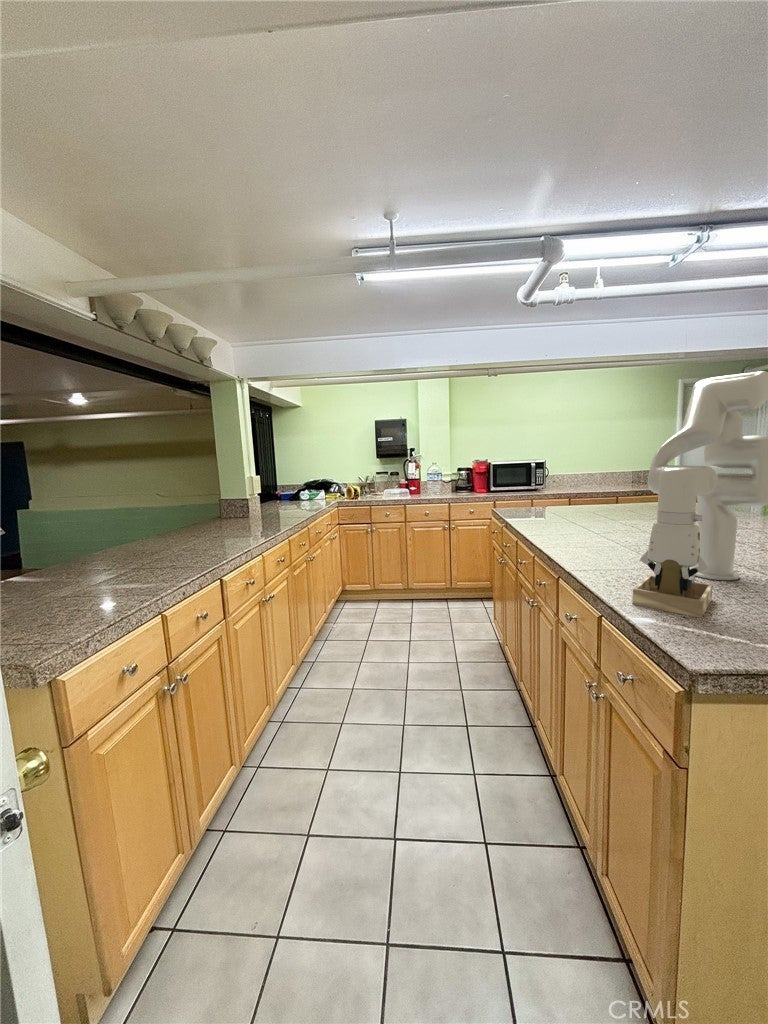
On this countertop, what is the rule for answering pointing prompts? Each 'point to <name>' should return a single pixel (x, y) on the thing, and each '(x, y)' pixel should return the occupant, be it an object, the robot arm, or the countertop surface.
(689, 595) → the tin
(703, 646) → the countertop surface
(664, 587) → the cork
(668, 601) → the tray
